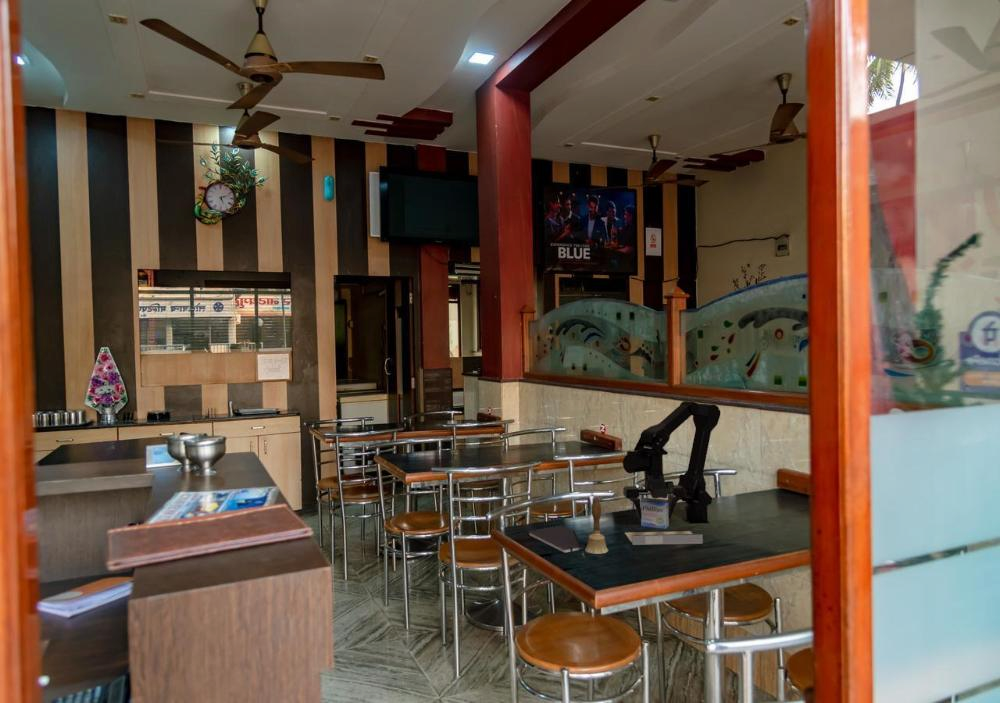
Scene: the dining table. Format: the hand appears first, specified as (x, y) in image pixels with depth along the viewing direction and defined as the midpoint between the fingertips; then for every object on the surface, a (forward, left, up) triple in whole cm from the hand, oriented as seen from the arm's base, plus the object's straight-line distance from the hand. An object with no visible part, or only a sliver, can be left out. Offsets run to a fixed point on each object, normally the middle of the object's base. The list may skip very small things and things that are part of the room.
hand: (654, 518), depth 198 cm
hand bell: (+22, +23, -4) cm, 32 cm away
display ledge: (+1, +13, -4) cm, 14 cm away
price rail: (+1, +19, -2) cm, 19 cm away
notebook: (+30, +8, -4) cm, 31 cm away
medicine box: (0, 0, -3) cm, 3 cm away
